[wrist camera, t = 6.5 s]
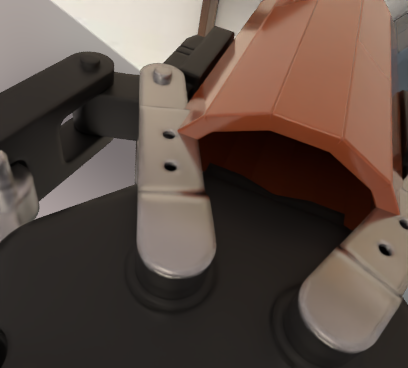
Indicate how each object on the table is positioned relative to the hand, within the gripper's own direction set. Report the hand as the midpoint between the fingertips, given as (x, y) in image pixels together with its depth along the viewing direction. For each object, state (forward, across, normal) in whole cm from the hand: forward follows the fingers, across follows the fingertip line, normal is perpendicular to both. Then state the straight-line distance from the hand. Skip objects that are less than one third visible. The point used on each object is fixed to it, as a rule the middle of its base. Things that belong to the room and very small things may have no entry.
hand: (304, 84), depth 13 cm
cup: (+3, 0, 0) cm, 3 cm away
